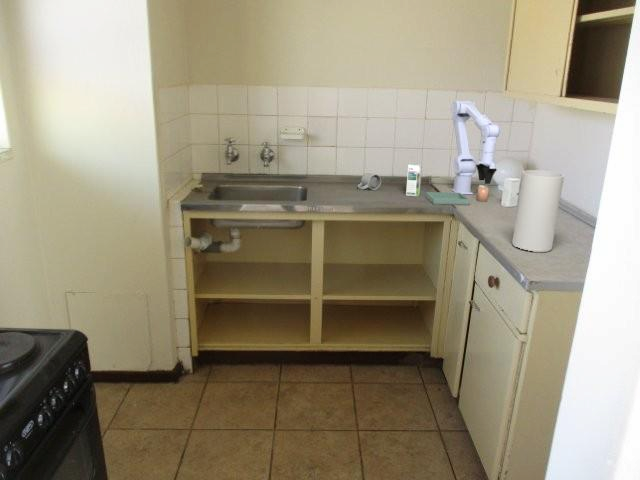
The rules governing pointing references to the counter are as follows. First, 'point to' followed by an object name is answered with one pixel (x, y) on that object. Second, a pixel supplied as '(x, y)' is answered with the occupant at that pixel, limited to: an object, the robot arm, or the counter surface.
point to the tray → (447, 198)
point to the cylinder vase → (537, 210)
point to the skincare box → (510, 192)
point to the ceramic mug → (370, 181)
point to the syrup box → (413, 180)
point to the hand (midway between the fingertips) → (484, 181)
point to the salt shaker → (482, 193)
